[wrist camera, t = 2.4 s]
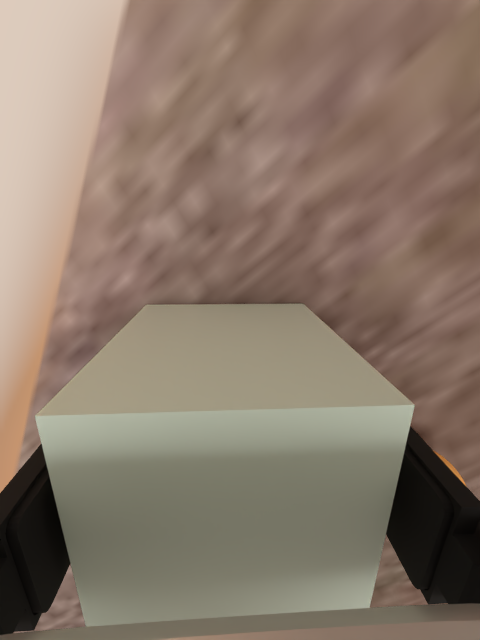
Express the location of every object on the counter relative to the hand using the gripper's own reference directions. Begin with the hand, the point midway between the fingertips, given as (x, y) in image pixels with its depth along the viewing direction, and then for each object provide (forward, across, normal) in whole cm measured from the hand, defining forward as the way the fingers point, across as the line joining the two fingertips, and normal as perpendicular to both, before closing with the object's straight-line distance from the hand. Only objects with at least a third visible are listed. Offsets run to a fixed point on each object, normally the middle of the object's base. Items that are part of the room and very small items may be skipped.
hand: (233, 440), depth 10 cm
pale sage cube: (+6, 0, 0) cm, 6 cm away
